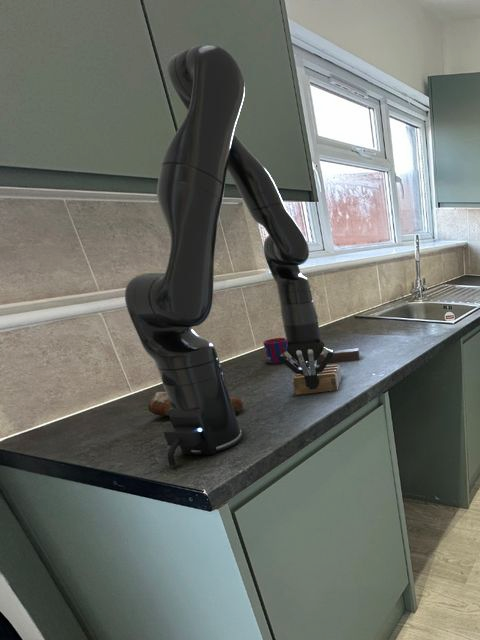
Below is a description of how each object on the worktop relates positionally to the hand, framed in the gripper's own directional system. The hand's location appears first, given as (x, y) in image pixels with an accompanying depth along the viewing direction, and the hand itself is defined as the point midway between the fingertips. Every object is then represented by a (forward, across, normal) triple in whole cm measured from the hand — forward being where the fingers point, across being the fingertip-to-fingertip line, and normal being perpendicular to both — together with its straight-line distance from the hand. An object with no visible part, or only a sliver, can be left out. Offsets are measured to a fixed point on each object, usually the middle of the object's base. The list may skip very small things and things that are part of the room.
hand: (313, 388), depth 106 cm
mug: (+2, -14, +35) cm, 38 cm away
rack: (+2, 0, +6) cm, 6 cm away
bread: (+2, -24, -4) cm, 24 cm away
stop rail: (+1, 0, +28) cm, 28 cm away
